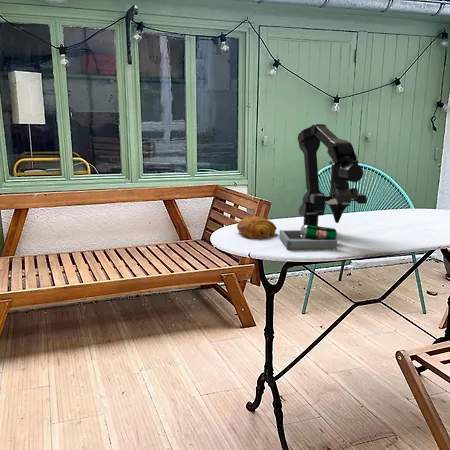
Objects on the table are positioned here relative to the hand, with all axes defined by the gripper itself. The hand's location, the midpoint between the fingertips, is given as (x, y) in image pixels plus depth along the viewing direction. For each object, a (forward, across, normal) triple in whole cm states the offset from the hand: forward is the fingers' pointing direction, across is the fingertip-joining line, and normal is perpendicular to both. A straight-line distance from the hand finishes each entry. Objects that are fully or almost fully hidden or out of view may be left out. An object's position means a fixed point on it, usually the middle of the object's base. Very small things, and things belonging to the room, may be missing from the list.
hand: (336, 222), depth 162 cm
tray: (+8, -10, 0) cm, 13 cm away
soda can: (+5, 0, 0) cm, 5 cm away
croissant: (+8, -26, +15) cm, 32 cm away
